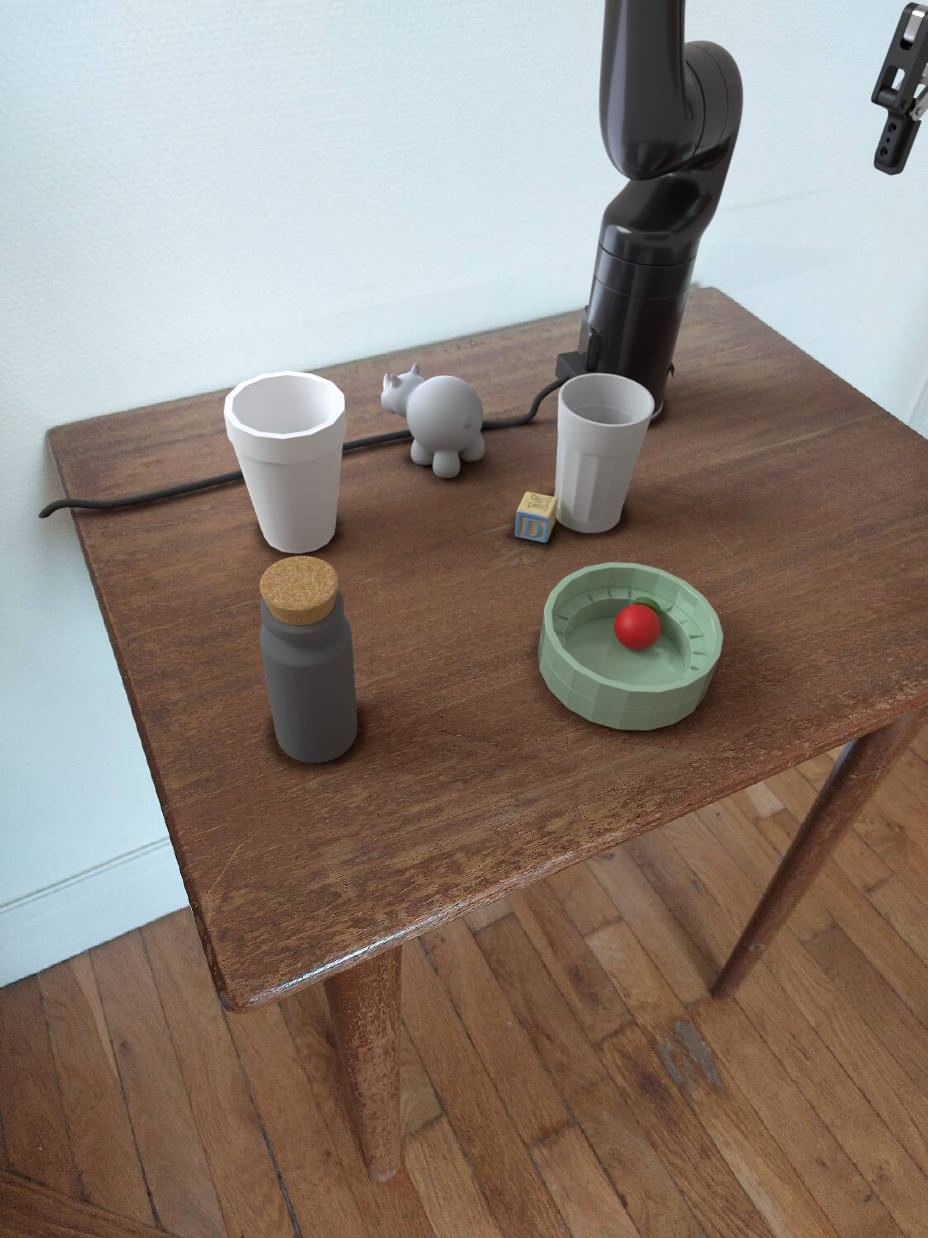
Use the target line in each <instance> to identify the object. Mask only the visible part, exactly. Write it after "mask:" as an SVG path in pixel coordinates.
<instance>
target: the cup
mask: <svg viewBox="0 0 928 1238" xmlns="http://www.w3.org/2000/svg"><path fill="white" fill-rule="evenodd" d="M653 410H654V399H653V397H652V395H651V394H650V393H649V391H648V390H647V389H645V388H644V387H643V386H642V385H640V384H638V383H637V382H635V381H633V380H630V379H628V378H625V377H622V376H618V375H612V374H603V373H593V374H585V375H580V376H577V377H574V378H572V379H570V380H569V381H567V382H566V383H565V384H564V385H563V386H561V387H560V389H559V391H558V401H557V447H556V465H555V466H556V467H555V482H554V483H555V485H554V494H553V497H556V498H557V499H558V502H557V510H556V518H555V520H557V521H558V523H560V524H561V525H563V526H564V527H566V528H567V529H570V530H573V531H575V532H579V533H585V534H598V533H603V532H606V531H609V530H611V529H613V528H614V527H615V526H616V525H617V524H618V523H619V521H620V519H621V515H622V510H623V507H624V503H625V499H626V496H627V493H628V491H629V488H630V483H631V481H632V478H633V474H634V471H635V469H636V465H637V462H638V460H639V456H640V452H641V450H642V446H643V443H644V440H645V437H646V434H647V432H648V428H649V425H650V423H649V422H650V419H651V416H652V413H653Z"/></svg>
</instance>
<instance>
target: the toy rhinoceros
mask: <svg viewBox="0 0 928 1238" xmlns="http://www.w3.org/2000/svg"><path fill="white" fill-rule="evenodd" d="M389 377H390V379H389ZM382 385H383V386H382V387H383V391H382V393H381V394H380V401H381V402H380V403H381V406H382V408H383V409H384V410H385V411H386V412H387V413H389V414H392V415H398V416H400V417H402V418H406V422H407V427H408V430H410V432H411V433H412V435H413V437H412V438H414V439H413V442H412V444H411V447H410V457H411V460H412V461H413V462H414V464H417V465H421V466H429V465H432V470H433V473H434V475H435V476H436V477H438V478H441V479H452V478H455V477H456V476H458V475H459V473H460V470H461V469H460V468H461V461H460V459H462V460H463V461H465V462H477V461H480V460H481V459H483V457H484V455H485V450H486V445H485V440H484V437H483V435H482V433H481V429H482V428H481V427H482V423H483V421H484V408H483V404H482V401H481V398H480V395H479V394H478V392H477V391H476V390H475V389H474V387H473V386H472V385H471V384H469V383H468V382H467V381H465V380H463V379H461V378H459V377H457V376H453V375H437V376H434V377H431V378H428V379H427V380H425V379H424V378H423V377H422V376H421V374H420V367H419V364H418V362H414V364H413V365H412V367H411V369H410V371H409V372H406V373H402V374H399V375H397V374H395V373H391V374H390V375H388V373H385V374H384V377H383V382H382Z"/></svg>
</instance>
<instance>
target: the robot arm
mask: <svg viewBox="0 0 928 1238" xmlns="http://www.w3.org/2000/svg"><path fill="white" fill-rule="evenodd" d="M686 3H687V0H604V5H603V10H604V11H603V23H602V35H601V37H602V39H601V52H600V69H599V85H598V120H599V121H598V122H599V131H600V136H601V140H602V145H603V147H604V150H605V153H606V156H607V157H608V159H609V161H610V163H611V165H612V166H613V167H614V168H615V170H616V171H617V172H618V173H619V174H621V175H622V176H623V177H625V178H626V179H629V180H628V181H627V183H626V184H625V186H624V187H623V188H622V189H621V190H620V191H619V192H618V194H617V195H616V196H615V197H614V198H613V199H612V200H611V201H610V202H609V203H608V204H607V205H606V207H605V209H604V211H603V214H602V216H601V221H600V228H599V234H598V242H597V248H596V254H595V260H594V267H593V273H592V280H591V287H590V293H589V298H588V299H589V300H588V304H586V305H585V306H584V307H583V312H582V319H581V325H580V332H579V338H578V346H577V350H574V351H573V350H572V351H569V352H563V353H562V352H561V353H558V354H557V357H556V365H555V371H554V372H555V373H554V375H555V377H556V378H557V380H554V381H553V382H551V383H550V384H548V385H546V386H545V387H544V388H542V389H541V390H540V391H539V392H538V393H537V394H536V396H535V397H534V399H533V401H532V403H531V407H530V409H529V411H528V412H527V413H525V414H524V415H521V416H520V417H518V418H515V419H512V420H506V421H494V420H493V421H491V420H483V423H482V427H481V429H486V430H487V429H490V430H491V429H502V428H511V427H518V426H522V425H525V424H526V423H528V422H530V421H532V420H533V419H534V418H535V417H536V415H537V414H538V411H539V409H540V405H541V403H542V402H543V400H544V399H545V398H546V397H547V396H548V395H550V394H551V393H553V392H554V391H557V390H558V389H559V388H561V387H562V386H563V385H564V384H565V383H566V382H567V381H569V380H570V379H572V378H574V377H577V376H580V375H585V374H593V373H603V374H612V375H618V376H622V377H625V378H628V379H630V380H633V381H635V382H637V383H638V384H640V385H642V386H643V387H644V388H645V389H647V390H648V391H649V393H650V394H651V395H652V397H653V399H654V410H653V413H652V416H651V419H650V422H649V424H651V423H653V422H654V421H656V420H657V419H658V418H659V417H660V415H661V413H662V409H663V405H664V399H665V394H666V388H667V384H668V380H669V376H670V374H671V377H672V378H674V375H675V372H676V371H675V370H676V368H675V366H674V363H673V359H674V355H675V350H676V346H677V342H678V337H679V332H680V330H681V325H682V320H683V317H684V311H685V308H686V304H687V299H688V295H689V290H690V286H691V282H692V278H693V274H694V270H695V265H696V261H697V256H698V252H699V248H700V243H701V240H702V238H703V236H704V234H705V232H706V231H707V229H708V228H709V226H710V224H711V223H712V221H713V219H714V217H715V215H716V212H717V210H718V207H719V204H720V200H721V197H722V194H723V191H724V187H725V183H726V180H727V177H728V174H729V170H730V167H731V163H732V159H733V156H734V153H735V149H736V145H737V141H738V137H739V133H740V129H741V124H742V118H743V111H744V85H743V79H742V74H741V71H740V69H739V66H738V63H737V61H736V60H735V58H734V57H733V56H732V54H731V53H730V52H729V51H728V50H727V49H726V48H725V47H723V46H722V45H721V44H718V43H716V42H713V41H710V40H700V39H699V40H689V41H686V39H685V38H686V37H685V36H686V35H685V34H686ZM899 70H902V71H903V72H904V76H903V77H902V79H901V80H900V81H899V82H898V84H897V85H896V87H893V85H894V84H895V80H896V77H897V75H898V72H899ZM919 85H923V86H924V87H923V89H922V90H921V91H920V93H919V94H918V95H917V96H916V97H915V94H916V91H917V89H918V87H919ZM870 101H871V103H872V104H874V105H877V106H880V107H881V108H883V109H885V110H886V111H887V118H886V121H885V123H884V126H883V130H882V133H881V135H880V138H879V141H878V143H877V147H876V149H875V152H874V158H873V166H874V169H876V170H878V171H879V172H882V173H883V174H886V175H887V176H895V175H900V174H902V173H903V171H904V169H905V167H906V165H907V162H908V159H909V156H910V154H911V151H912V148H913V146H914V143H915V141H916V138H917V136H918V132H919V130H920V127H921V125H922V121H923V120H920V119H921V118H922V116H924V114H925V113H926V112H927V111H928V5H927V4H920V3H917V2H913V1H911V2H909V3H906V5H905V6H904V8H903V10H902V12H901V14H900V17H899V20H898V23H897V25H896V28H895V31H894V33H893V36H892V38H891V42H890V44H889V47H888V50H887V51H886V56H885V58H884V60H883V63H882V66H881V68H880V71H879V74H878V77H877V80H876V82H875V85H874V88H873V90H872V93H871V96H870ZM409 438H414V437H413V435H412V433H411V432H410V429H405V430H399V431H394V432H388V433H383V434H378V435H373V436H369V437H363V438H360V439H355V440H351V441H347V442H343V448H342V453H343V452H347V451H350V450H355V449H359V448H364V447H369V446H373V445H377V444H383V443H386V442H393V441H396V440H402V439H409ZM241 479H244V476H243V473H242V470H241V469H240V470H235V471H232V472H228V473H224V474H221V475H220V474H219V475H216V476H213V477H209V478H204V479H201V480H197V481H193V482H188V483H185V484H180V485H176V486H173V487H168V488H164V489H161V490H160V489H159V490H155V491H151V492H147V493H143V494H138V495H133V496H127V497H123V498H122V497H121V498H115V499H109V500H94V499H93V500H92V499H91V500H90V499H81V498H62V499H59V500H55V501H52V502H50V503H49V504H48V505H46V506H45V507H43V508H42V510H41V511H40V513H39V514H38V518H40V519H46V518H49V517H50V516H51V515H52V514H54V512H56V511H58V510H61V509H66V508H76V509H88V510H112V509H119V508H124V507H130V506H136V505H142V504H146V503H149V502H154V501H158V500H162V499H166V498H171V497H174V496H180V495H182V494H186V493H191V492H195V491H199V490H203V489H207V488H210V487H214V486H219V485H222V484H226V483H229V482H233V481H237V480H241Z"/></svg>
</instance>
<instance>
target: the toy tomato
mask: <svg viewBox="0 0 928 1238" xmlns="http://www.w3.org/2000/svg"><path fill="white" fill-rule="evenodd" d="M659 613H660V606H659V605H658V603H657V602H655V601H654V600H652V599H650V598H647V597H638V598H636V599H635V600H634V602H633V604H632V605H630V606H627V607H625V608H624V609H623V610H621V611H620V612H619V614H618V615H617V617H616V619H615V623H614V632H615V635H616V637H617V639H618V641H619V642H620V643H621V644H622V645H623V646H625V647H626V648H629V649H632V650H643V649H646V648H648V647H650V646H652V645H653V644H654V643H655V642H656V641H657V639H658V637H659V635H660V631H661V623H660V620H659V617H658V615H659Z"/></svg>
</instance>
